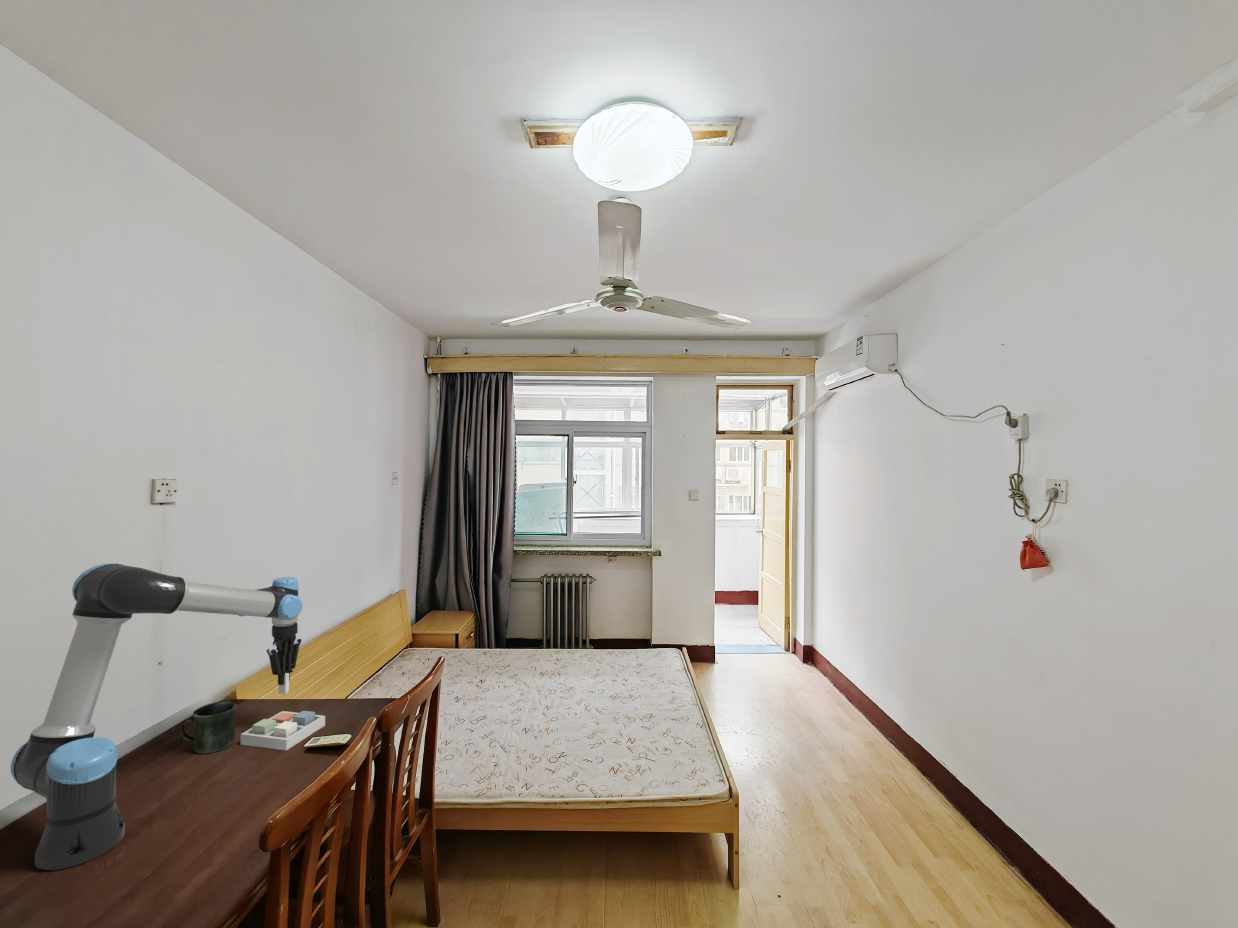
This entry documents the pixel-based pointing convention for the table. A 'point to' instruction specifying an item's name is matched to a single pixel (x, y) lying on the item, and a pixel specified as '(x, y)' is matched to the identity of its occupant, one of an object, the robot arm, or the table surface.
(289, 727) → the key ivory
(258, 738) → the frame
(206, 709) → the mug
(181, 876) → the table surface
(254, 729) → the key sage
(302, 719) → the key slate
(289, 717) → the key terracotta
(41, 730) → the robot arm
